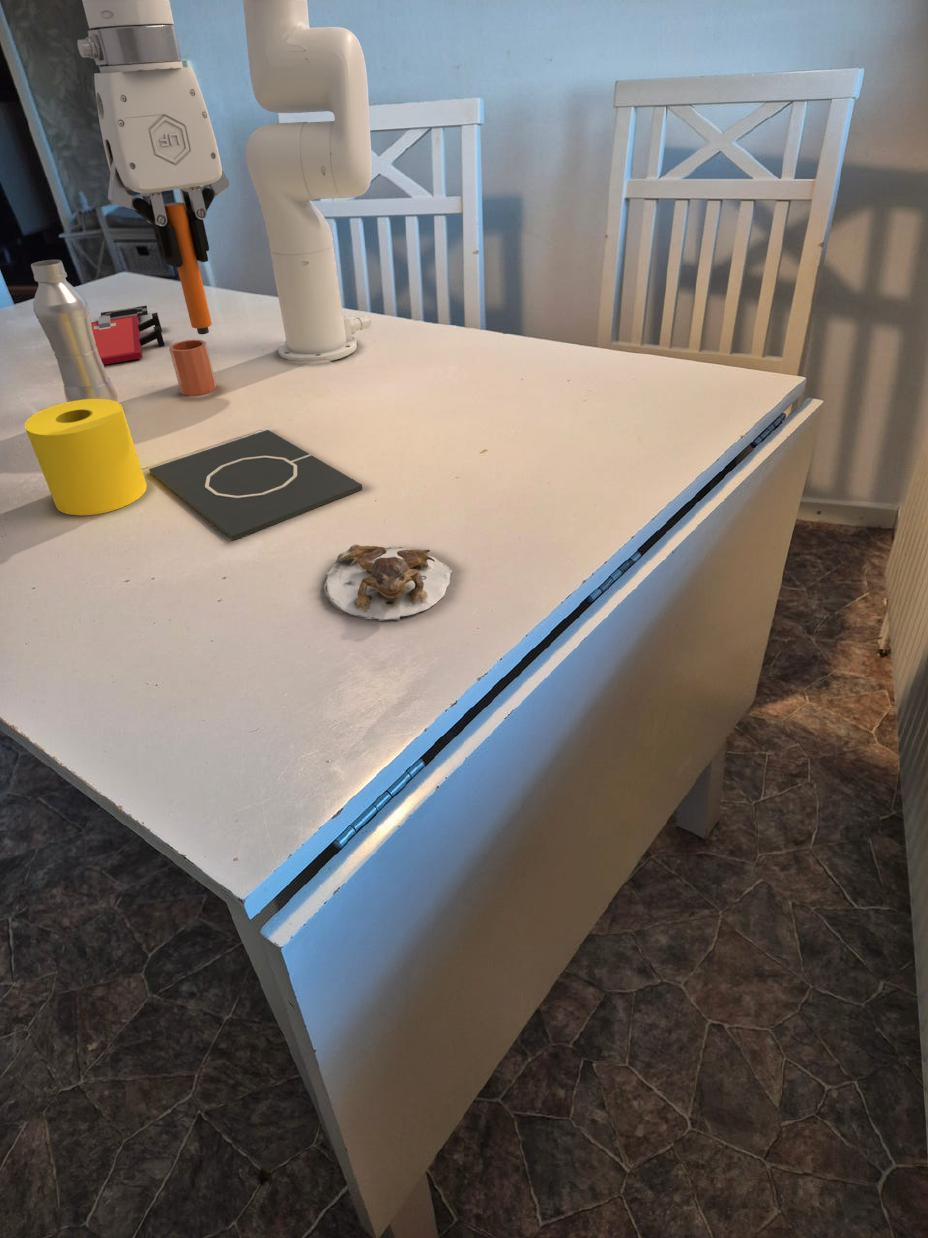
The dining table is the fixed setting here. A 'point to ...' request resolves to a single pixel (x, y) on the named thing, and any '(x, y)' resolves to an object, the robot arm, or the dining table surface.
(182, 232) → the marker
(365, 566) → the frog figurine
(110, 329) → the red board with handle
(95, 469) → the yellow hollow cylinder
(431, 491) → the dining table surface
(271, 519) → the slate board
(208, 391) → the pen cup
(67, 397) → the silver bottle
